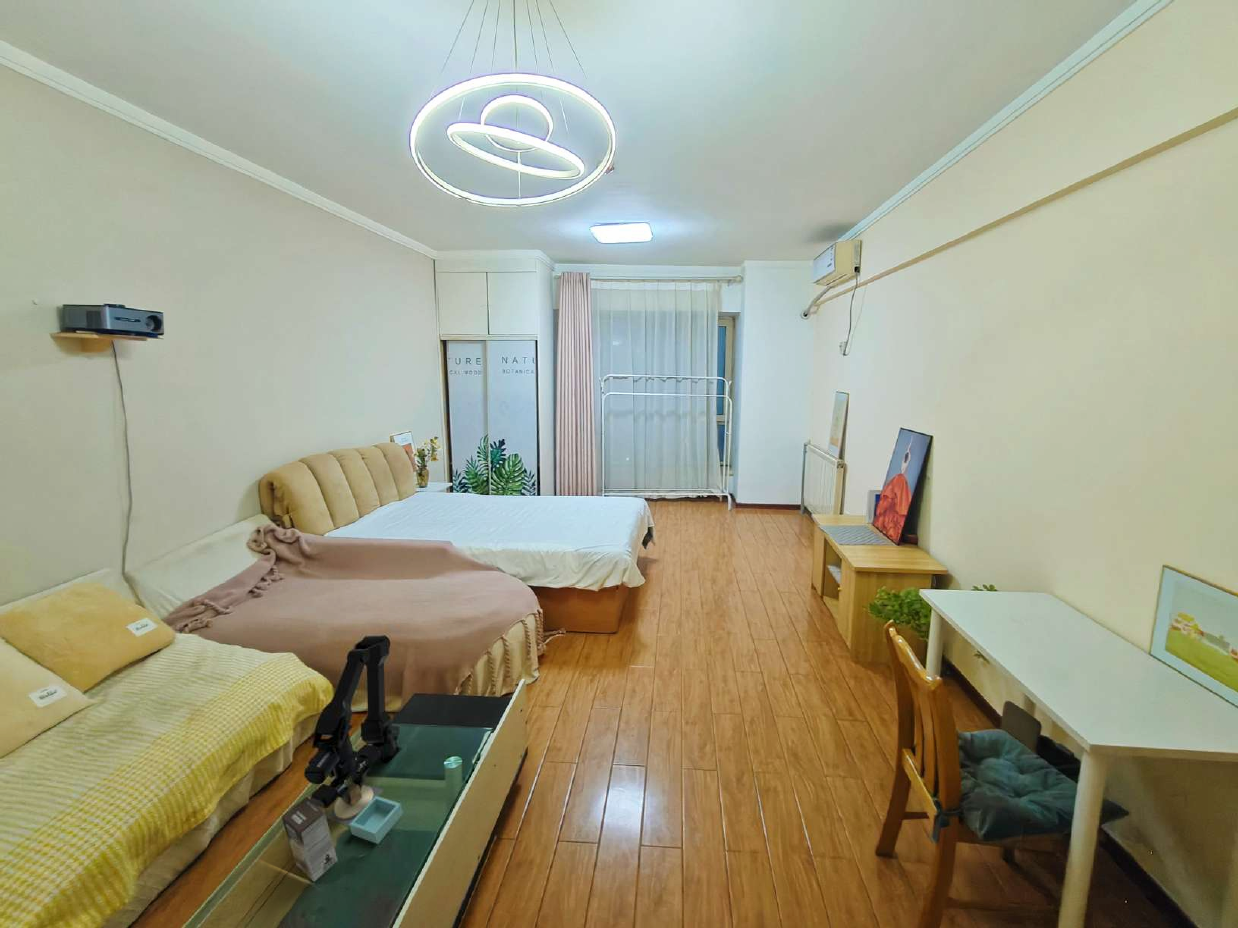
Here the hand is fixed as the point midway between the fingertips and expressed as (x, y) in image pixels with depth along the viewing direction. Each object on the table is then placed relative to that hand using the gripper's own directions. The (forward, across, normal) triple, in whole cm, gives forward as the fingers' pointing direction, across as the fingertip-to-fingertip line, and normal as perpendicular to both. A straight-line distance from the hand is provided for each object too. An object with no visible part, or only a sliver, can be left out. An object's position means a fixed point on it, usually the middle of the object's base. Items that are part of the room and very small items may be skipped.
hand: (353, 798), depth 146 cm
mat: (+2, 0, 0) cm, 2 cm away
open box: (+2, +3, +12) cm, 13 cm away
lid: (+2, 0, 0) cm, 2 cm away
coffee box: (+2, +16, +5) cm, 17 cm away
